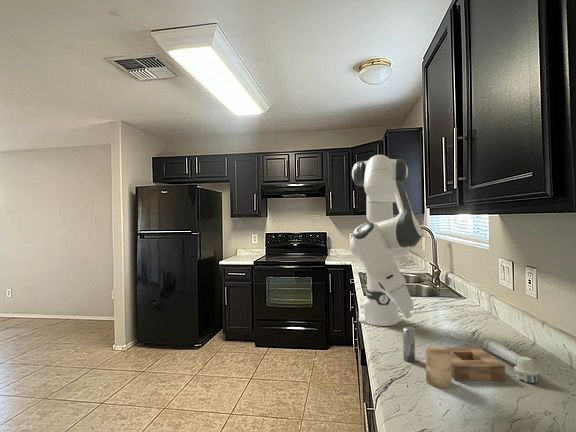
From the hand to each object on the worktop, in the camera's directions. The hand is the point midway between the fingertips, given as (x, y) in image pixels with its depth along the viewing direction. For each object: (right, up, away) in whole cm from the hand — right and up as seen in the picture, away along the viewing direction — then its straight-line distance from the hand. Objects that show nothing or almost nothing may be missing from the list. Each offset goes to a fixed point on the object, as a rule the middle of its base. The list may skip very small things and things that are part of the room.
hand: (401, 309), depth 107 cm
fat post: (+6, -17, -12) cm, 22 cm away
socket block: (+18, -17, -4) cm, 25 cm away
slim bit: (+4, -17, +3) cm, 18 cm away
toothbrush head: (+33, -17, -1) cm, 37 cm away
